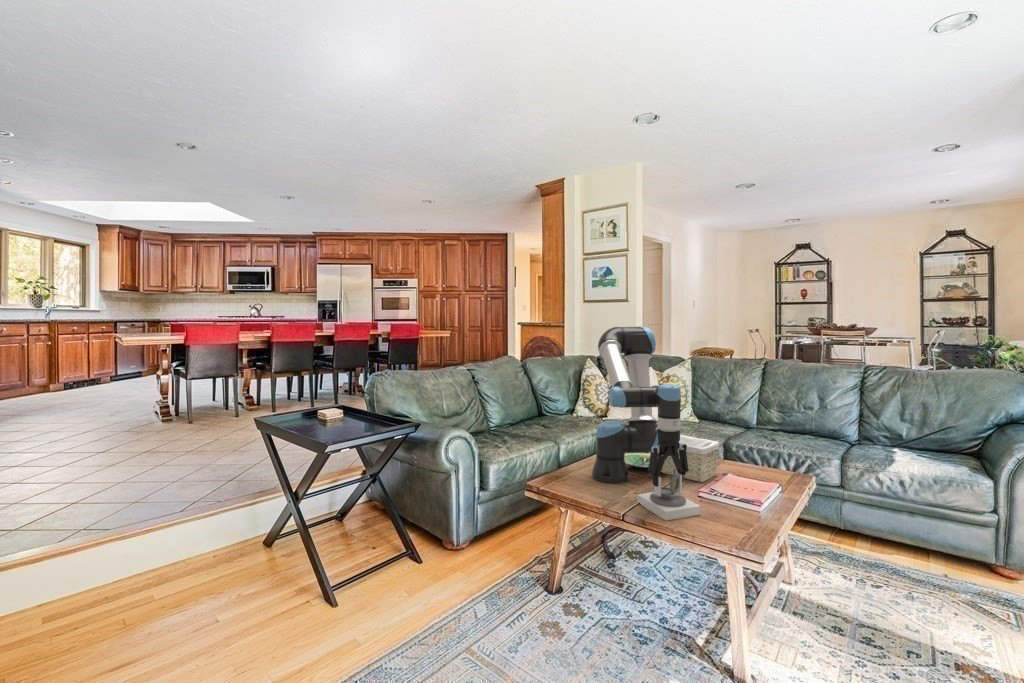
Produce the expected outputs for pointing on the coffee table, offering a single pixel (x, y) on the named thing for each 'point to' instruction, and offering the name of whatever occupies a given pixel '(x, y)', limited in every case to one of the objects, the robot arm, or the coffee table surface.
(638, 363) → the robot arm
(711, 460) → the storage basket
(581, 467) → the coffee table surface
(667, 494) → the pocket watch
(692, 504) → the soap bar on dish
